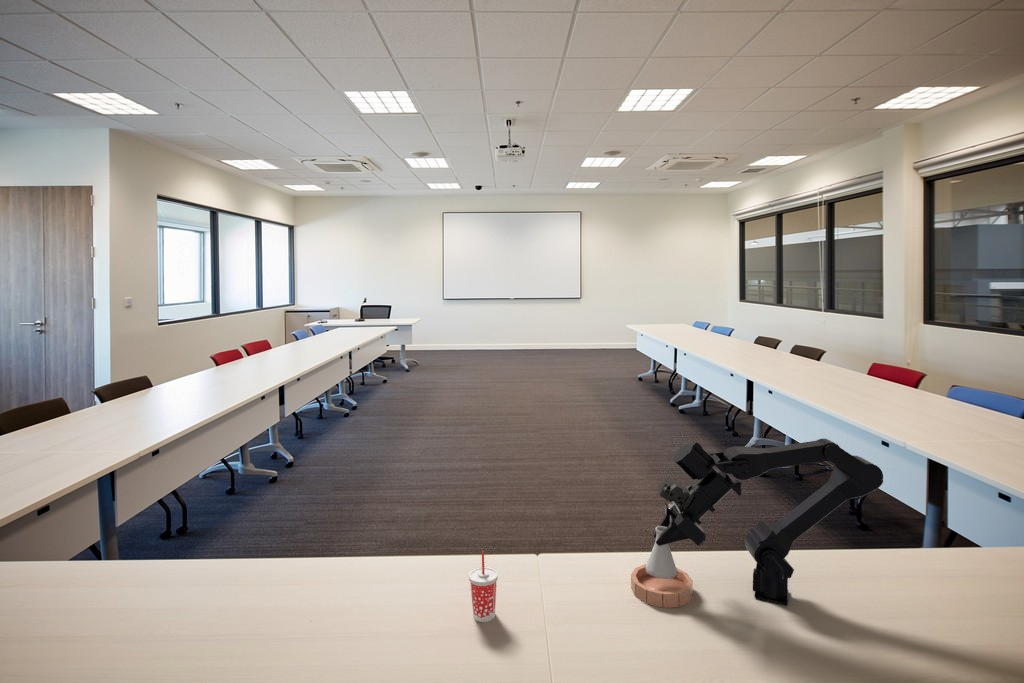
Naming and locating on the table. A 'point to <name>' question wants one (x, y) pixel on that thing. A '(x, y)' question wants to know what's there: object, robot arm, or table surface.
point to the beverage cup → (483, 592)
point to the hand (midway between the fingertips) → (656, 540)
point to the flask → (661, 560)
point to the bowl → (662, 588)
